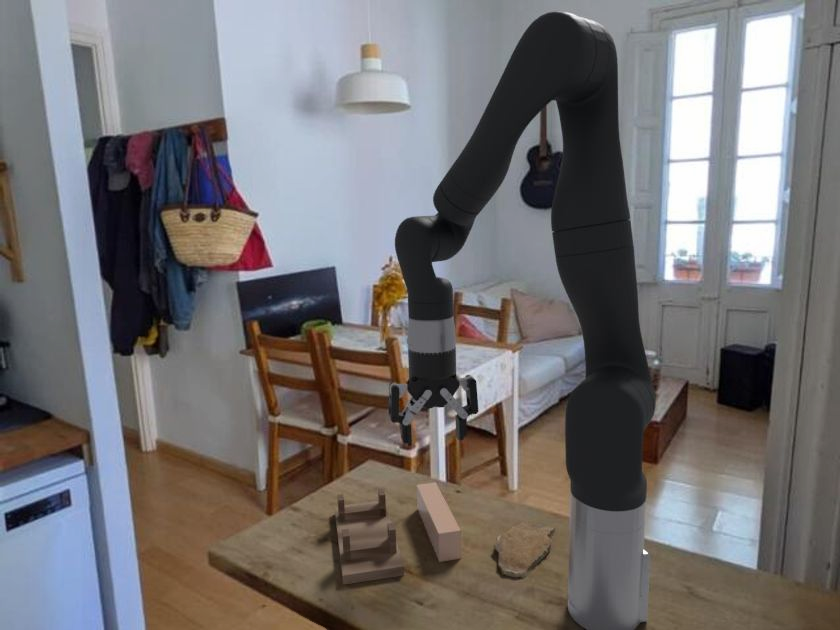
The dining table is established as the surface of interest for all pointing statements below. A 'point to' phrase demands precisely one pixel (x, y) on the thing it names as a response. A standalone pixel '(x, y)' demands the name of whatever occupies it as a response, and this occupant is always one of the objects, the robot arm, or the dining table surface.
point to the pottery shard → (523, 547)
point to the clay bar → (439, 522)
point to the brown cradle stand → (367, 541)
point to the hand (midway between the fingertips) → (434, 441)
